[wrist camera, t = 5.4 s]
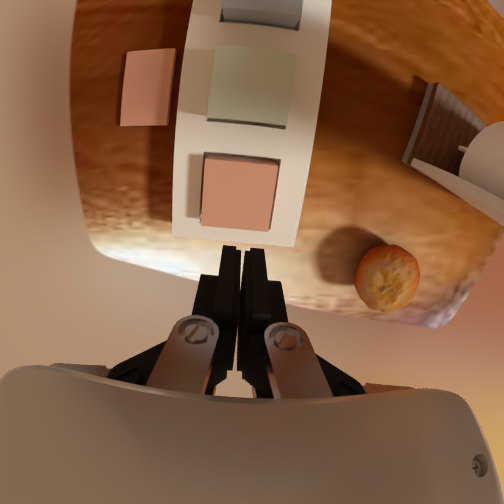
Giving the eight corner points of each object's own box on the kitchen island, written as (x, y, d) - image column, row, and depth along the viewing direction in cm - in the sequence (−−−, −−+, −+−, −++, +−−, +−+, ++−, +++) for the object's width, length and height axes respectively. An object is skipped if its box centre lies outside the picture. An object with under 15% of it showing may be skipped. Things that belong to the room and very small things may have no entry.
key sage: (219, 53, 18) (215, 44, 16) (289, 61, 19) (296, 53, 16) (211, 117, 21) (206, 117, 18) (281, 124, 22) (286, 125, 19)
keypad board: (207, -31, 15) (204, -44, 13) (325, -16, 16) (333, -28, 13) (179, 223, 29) (172, 236, 26) (289, 233, 30) (293, 247, 27)
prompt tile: (130, 53, 20) (127, 52, 19) (177, 49, 20) (175, 48, 19) (123, 125, 24) (120, 126, 23) (168, 125, 24) (166, 125, 23)
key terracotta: (209, 153, 24) (205, 159, 21) (274, 160, 25) (278, 166, 22) (205, 213, 27) (201, 225, 24) (265, 218, 27) (268, 232, 25)
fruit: (404, 296, 33) (402, 330, 27) (354, 276, 36) (341, 306, 30) (427, 244, 30) (433, 270, 23) (372, 223, 32) (364, 243, 26)
